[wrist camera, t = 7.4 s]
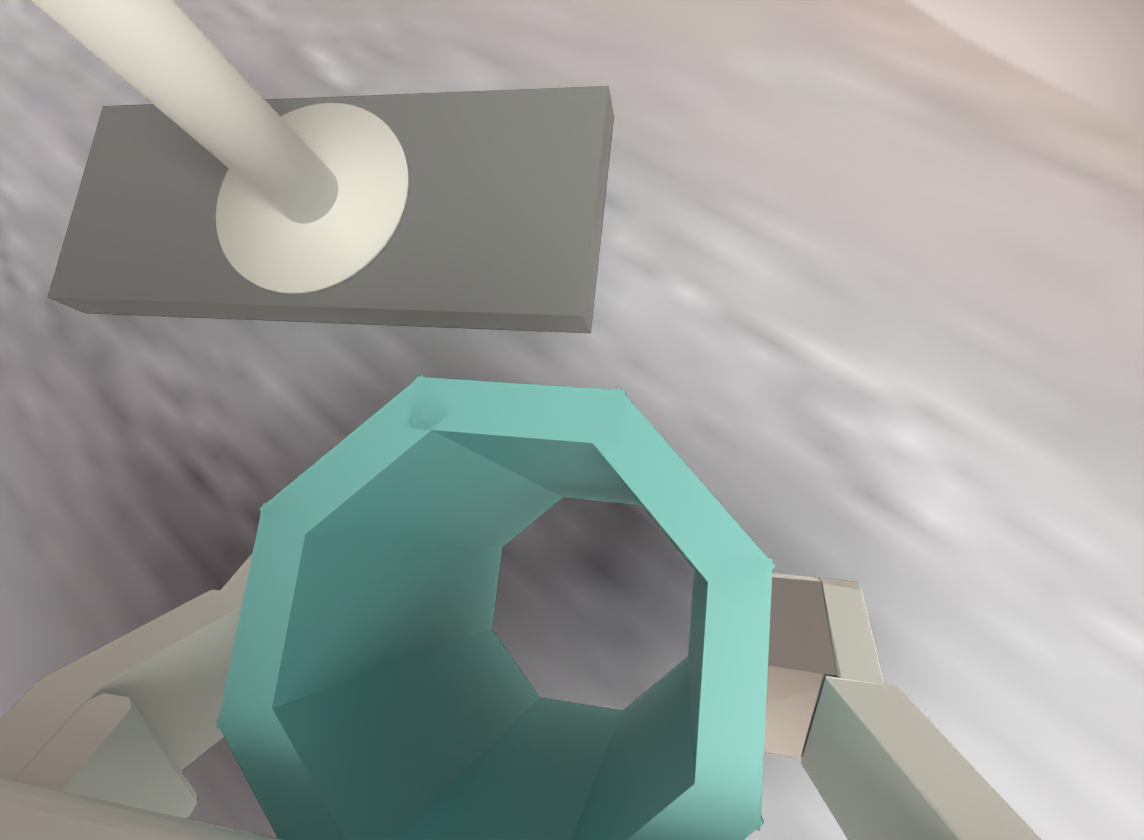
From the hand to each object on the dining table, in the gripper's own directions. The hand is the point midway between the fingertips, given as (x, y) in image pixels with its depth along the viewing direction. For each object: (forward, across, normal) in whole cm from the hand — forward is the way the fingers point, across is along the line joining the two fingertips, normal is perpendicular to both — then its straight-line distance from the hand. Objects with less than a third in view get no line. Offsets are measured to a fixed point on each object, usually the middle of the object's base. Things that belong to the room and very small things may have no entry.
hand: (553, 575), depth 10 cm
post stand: (+15, +12, -1) cm, 19 cm away
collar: (+3, 0, +4) cm, 5 cm away
